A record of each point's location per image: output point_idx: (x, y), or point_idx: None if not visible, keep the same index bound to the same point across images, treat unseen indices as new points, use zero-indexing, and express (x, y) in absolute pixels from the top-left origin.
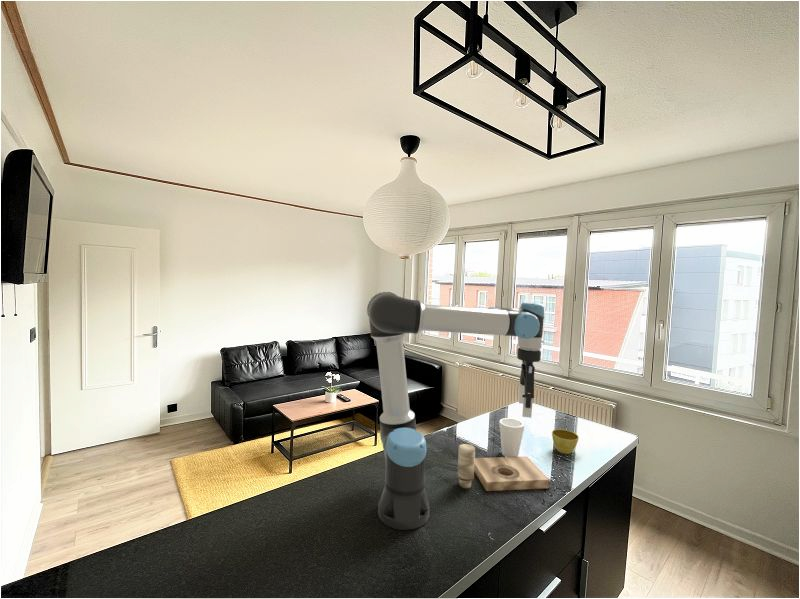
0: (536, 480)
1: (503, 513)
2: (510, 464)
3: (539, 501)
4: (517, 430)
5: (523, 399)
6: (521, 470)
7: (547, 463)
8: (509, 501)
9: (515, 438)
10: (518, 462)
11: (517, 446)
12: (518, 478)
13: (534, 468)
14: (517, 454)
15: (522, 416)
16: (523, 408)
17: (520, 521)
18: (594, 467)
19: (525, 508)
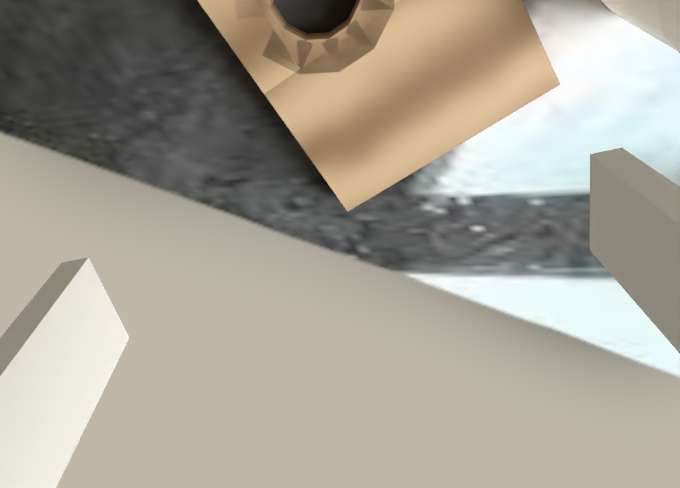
0: (311, 158)
1: (22, 35)
2: (415, 5)
3: (217, 168)
4: (674, 33)
5: (618, 235)
6: (373, 77)
7: (588, 174)
8: (132, 45)
9: (645, 12)
10: (461, 48)
11: (633, 21)
12: (277, 73)
13: (428, 138)
14: (619, 16)
15: (64, 263)
16: (10, 331)
17: (22, 112)
18: (614, 347)
19: (126, 120)
